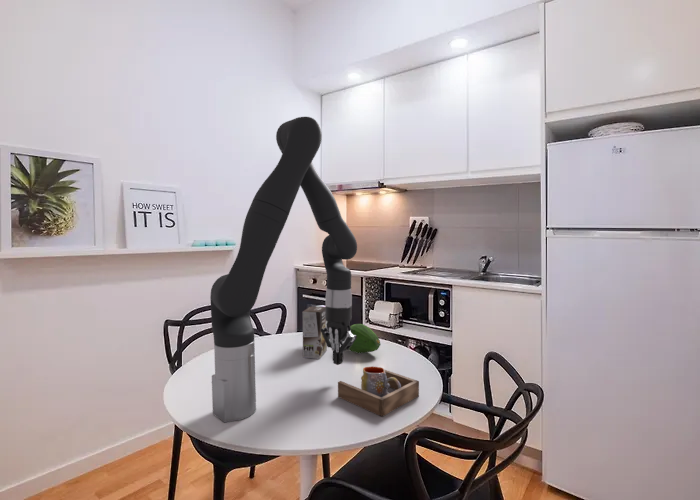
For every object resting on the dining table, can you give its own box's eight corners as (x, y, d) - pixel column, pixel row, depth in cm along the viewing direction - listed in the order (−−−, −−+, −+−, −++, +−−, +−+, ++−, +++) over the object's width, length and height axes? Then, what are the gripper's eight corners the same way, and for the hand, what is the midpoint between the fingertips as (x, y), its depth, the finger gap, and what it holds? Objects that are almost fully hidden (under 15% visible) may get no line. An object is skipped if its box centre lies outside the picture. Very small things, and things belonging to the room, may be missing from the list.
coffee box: (320, 359, 127) (319, 311, 126) (302, 358, 129) (301, 311, 128) (327, 350, 136) (327, 306, 135) (310, 349, 138) (309, 305, 137)
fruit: (387, 355, 131) (386, 326, 130) (366, 362, 124) (365, 332, 124) (357, 345, 142) (357, 318, 142) (337, 350, 136) (336, 323, 135)
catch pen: (382, 416, 89) (382, 400, 88) (338, 396, 99) (337, 381, 99) (418, 396, 99) (418, 381, 99) (375, 380, 110) (375, 366, 109)
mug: (355, 394, 101) (355, 369, 100) (372, 385, 106) (371, 362, 105) (392, 408, 92) (391, 382, 92) (408, 398, 97) (407, 373, 97)
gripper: (313, 302, 110) (312, 361, 111) (345, 309, 101) (344, 373, 102) (332, 299, 115) (331, 355, 116) (364, 305, 106) (363, 366, 107)
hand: (337, 363), depth 109 cm, fingers closed
